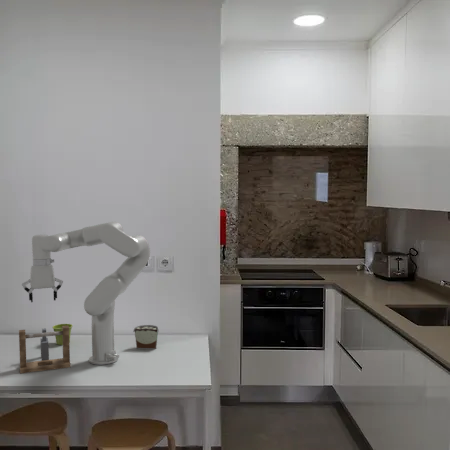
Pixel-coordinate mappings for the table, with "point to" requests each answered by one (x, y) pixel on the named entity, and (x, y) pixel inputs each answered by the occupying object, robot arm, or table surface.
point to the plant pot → (59, 328)
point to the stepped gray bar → (44, 347)
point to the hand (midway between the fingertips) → (43, 300)
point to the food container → (146, 336)
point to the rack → (36, 365)
